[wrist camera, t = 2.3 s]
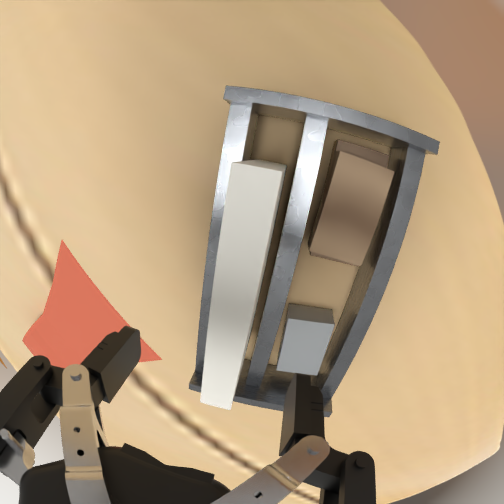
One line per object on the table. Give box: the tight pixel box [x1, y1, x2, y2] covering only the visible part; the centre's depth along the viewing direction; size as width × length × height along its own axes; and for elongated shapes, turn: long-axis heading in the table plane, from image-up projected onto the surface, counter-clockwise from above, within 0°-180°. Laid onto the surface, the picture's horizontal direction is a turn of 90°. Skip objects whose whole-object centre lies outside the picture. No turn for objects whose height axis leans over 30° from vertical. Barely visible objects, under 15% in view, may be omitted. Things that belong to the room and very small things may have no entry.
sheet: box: [22, 240, 162, 368], centre depth 34 cm, size 6×30×24 cm
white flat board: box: [200, 159, 287, 410], centre depth 21 cm, size 18×2×11 cm, turn 170°
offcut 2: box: [310, 140, 389, 266], centre depth 22 cm, size 10×4×2 cm, turn 169°
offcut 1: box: [276, 303, 335, 375], centre depth 27 cm, size 7×4×3 cm, turn 174°
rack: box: [189, 86, 440, 417], centre depth 23 cm, size 28×15×6 cm, turn 170°
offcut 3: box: [308, 151, 394, 266], centre depth 20 cm, size 8×4×2 cm, turn 166°
